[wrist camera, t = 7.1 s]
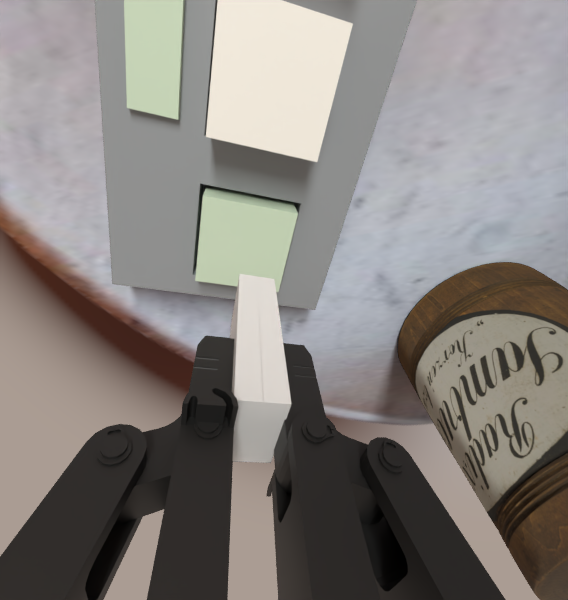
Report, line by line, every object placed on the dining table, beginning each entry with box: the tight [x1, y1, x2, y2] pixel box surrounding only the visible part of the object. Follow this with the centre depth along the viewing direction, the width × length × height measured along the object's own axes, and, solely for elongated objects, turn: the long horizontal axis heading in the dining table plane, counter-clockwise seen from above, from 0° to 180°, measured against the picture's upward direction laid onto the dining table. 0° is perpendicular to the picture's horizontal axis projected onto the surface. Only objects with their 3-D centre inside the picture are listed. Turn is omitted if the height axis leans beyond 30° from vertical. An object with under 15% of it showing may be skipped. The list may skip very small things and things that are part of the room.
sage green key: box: [195, 185, 298, 292], centre depth 21 cm, size 5×5×3 cm
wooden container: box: [398, 262, 568, 600], centre depth 22 cm, size 15×15×22 cm
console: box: [95, 0, 417, 310], centre depth 17 cm, size 26×14×3 cm, turn 167°
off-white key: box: [206, 0, 353, 162], centre depth 15 cm, size 5×5×3 cm
